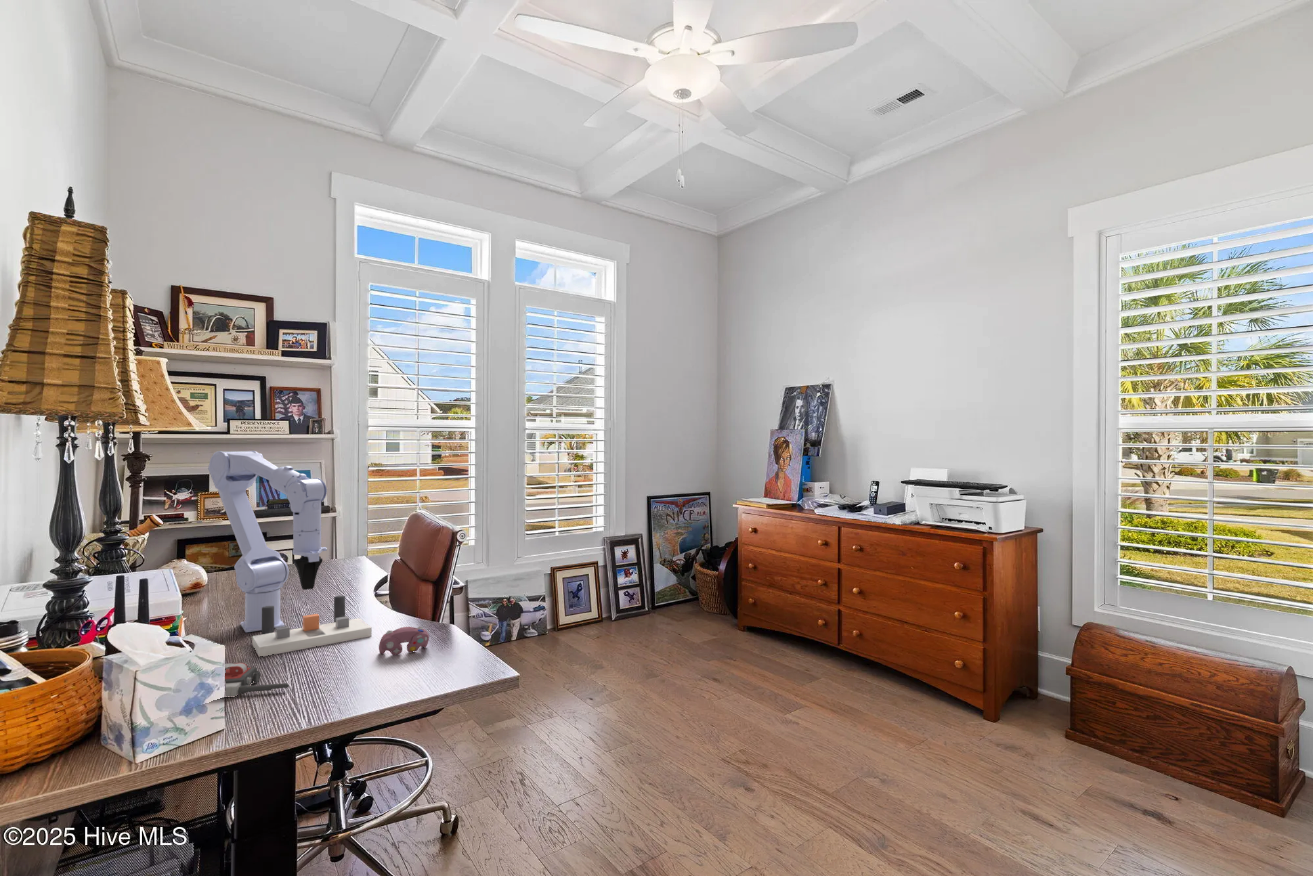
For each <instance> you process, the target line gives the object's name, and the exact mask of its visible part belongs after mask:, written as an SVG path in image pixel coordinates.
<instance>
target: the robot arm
mask: <svg viewBox="0 0 1313 876" xmlns="http://www.w3.org/2000/svg"><path fill="white" fill-rule="evenodd" d="M207 469H208V472H209V474H210V477H211V479H212V482H213V486H214V487H215V489H216V490H217V492H218V495H219V498H220V500H221V502H222V505H223V508H224V510H225V513H226V517H227V518H228V521H229V523H230V526H231V529H232V531H233V534H234V536H235V539H236V542H237V544H238V547H239V550H240V553H241V557H240V558H239V559H238V560H237V561H236V562H235V565H234V566H233V567H234V571H235V582H236V585H237V587H238V588H239V590H241V592H242V593H244V594H245V596H244V600H245V601H244V613H245V614H244V621H241V622H240V626H241V628H242V629H243V631H244V632H245V633H251V632H258V631H262V607H265V606H274V629H276V628H278V627H284V626H285V623H284V622H283V620H282V619H281V588H283V587H284V583H285V582H287V580H288V578H289V573H290V571H289V566H288V564H287V562H286V561H285V560H284V559H283V558H282V556H281V553H280V552H279V551H277V550H275V549H273V548H270V547H268V546H267V545H268V544H267V543H266V540H265V537H264V535H263V533H262V530H261V527H260V525H259V523H258V520H257V517H256V515H255V514H256V513H254V510H253V507H252V505H251V501H250V499H249V497H248V495H247V489H249V488H250V487H252V486H253V485H254V483H255V481H256V480H257V478H258V476H259V477H261V478H264V479H266V480H268V483H269V485H270V486H271V488H272V489H275V490H276V491H279V492H280V493H282V494H284V495H286V498H287V500H288V501H289V506H290V510H291V512H292V522H293V523H292V530H293V531H292V533H293V534H292V535H293V538H292V539H293V540H292V542H293V543H292V545H293V547H292V549H293V550H292V551H291V552H292V555H294V556H300V557H299V558H294V559H292V562H293V565H294V566H295V568H296V570H297V573H298V579H299V582H300V586H301V589H302V590H303V591H305V590H313V589H314V587H315V583H316V579H317V574H318V571H319V568H320V566H321V565H322V563H323V561H324V560H323V558H321V556H320V555H321V553H322V552H327V550H328V547H326V546H323V547H322V502H323V501H324V500H325V498H327V494H328V488H327V485H326V483H325V481H324V480H323V479H321V478H320V477H313V478H310V477H307V474H305V473H300V472H298V471H296V470H294V467H293V466H292V465H285V466H280V467H279V466H277V465H275V464H274V463H272V462H270V461H269V460H267V459H265V458H264V456H263V453H260V452H258V451H256V450H245V451H244V450H242V451H240V450H239V451H222V450H217V451H215V452H214V453H213V454H212V455H211V457H210V459H209V464H208V468H207Z"/></svg>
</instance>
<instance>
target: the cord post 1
mask: <svg viewBox="0 0 1313 876" xmlns="http://www.w3.org/2000/svg"><path fill="white" fill-rule="evenodd" d="M274 632H275V628H274V606H265V607H262V630H261V635H262V634H268V633H274Z"/></svg>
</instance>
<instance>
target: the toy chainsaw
mask: <svg viewBox="0 0 1313 876" xmlns="http://www.w3.org/2000/svg"><path fill="white" fill-rule="evenodd" d="M224 664H225V669H226V673H225V681H226V696H236V695H237V694H239V695H241V694H247V693H253V692H255V693H256V692H268V691H272V690H276V689H277V690H278V689H287V688H289V686H290V685H289V683H287V682H284V683H282V682H281V683H272V684H271V683H270V684H269V683H268V684H258V685H257V684H256V685H252V686H250V684H251V683H253V681H254V682H258V681H259V682H260V679H261V671H260V670H258V667H253V666H252V667H248V665H247V664H246V663H245V662H236V663H233V662H232V663H224ZM259 682H258V683H259ZM246 692H247V693H246Z"/></svg>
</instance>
